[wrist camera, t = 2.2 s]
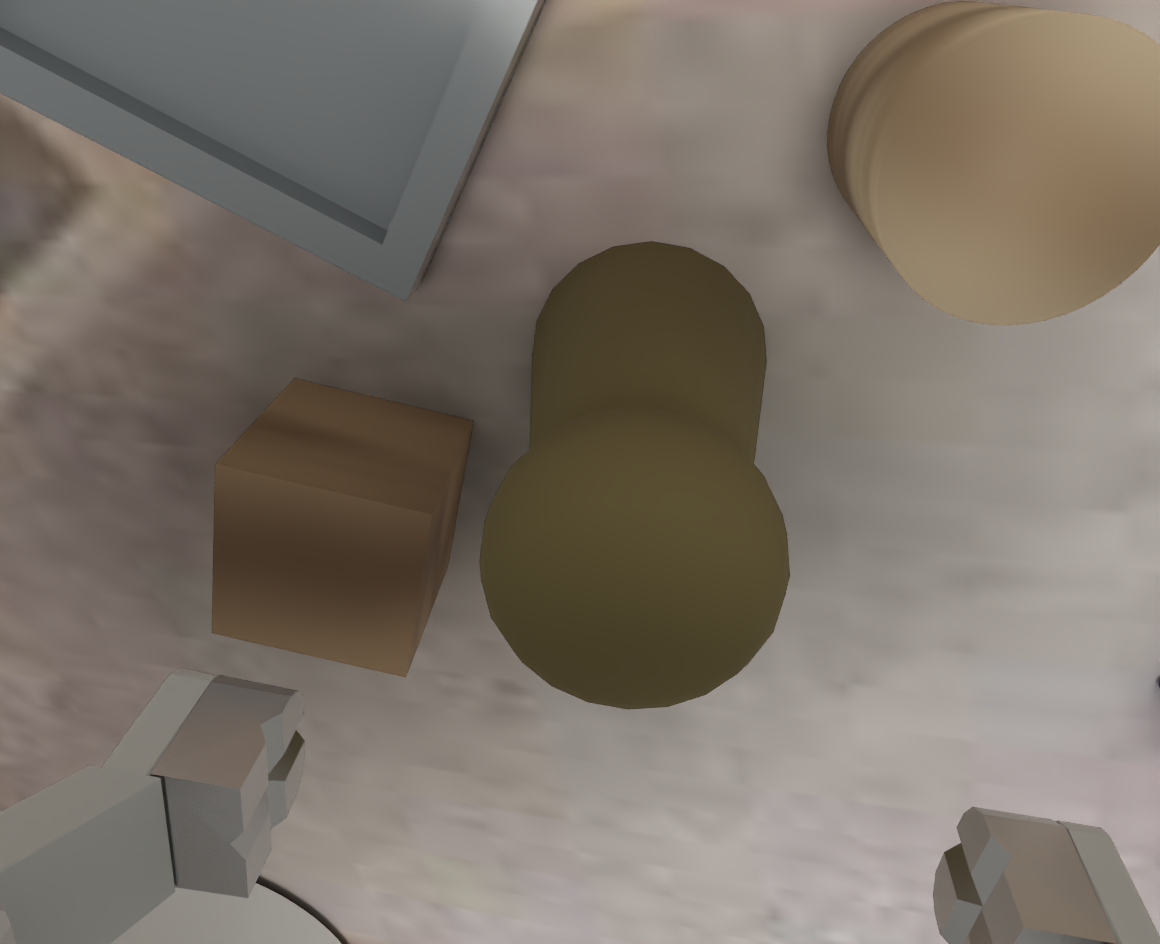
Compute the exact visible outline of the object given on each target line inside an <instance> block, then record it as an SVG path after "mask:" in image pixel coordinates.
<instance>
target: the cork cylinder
mask: <svg viewBox="0 0 1160 944" xmlns="http://www.w3.org/2000/svg"><path fill="white" fill-rule="evenodd" d="M827 148H828V157H829V163H830V167H831V171H832V175H833V177H834V179H835V182H836V184H837V187H838V189H839V190H840V192H841V194H842V195H843V197H844V199H845V200H846V202H847V203H848V204H849V206H850V207H851V208H852V210H853V211H854V212H855V214H856V215H857V217H858V218H859V219H860V221H861V222H862V223H863V225H864V226H865V228H866V229H867V230H868V232H869V233H870V234H871V236H872V237H873V238H874V240H875V241H876V243H877V244H878V245H879V247H880V248H881V249H882V251H883V252H884V254H885V255H886V256H887V258H888V259H889V260H890V262H891V263H892V264H893V266H894V267H895V269H896V270H897V271H898V273H899V274H900V275H901V277H902V278H903V279H904V280H905V281H906V283H907V284H908V285H909V286H910V287H911V288H912V289H913V290H914V291H915V292H916V293H917V294H918V295H919V296H920V297H922V298H923V299H924V300H926V301H927V302H929V303H930V304H932V305H933V306H935V307H936V308H938V309H940V310H942V311H944V312H946V313H948V314H950V315H952V316H955V317H958V318H961V319H965V320H968V321H972V322H977V323H983V324H991V325H1018V324H1028V323H1034V322H1039V321H1044V320H1048V319H1051V318H1055V317H1058V316H1061V315H1065V314H1067V313H1069V312H1072V311H1074V310H1077V309H1079V308H1081V307H1084V306H1086V305H1087V304H1089V303H1091V302H1093V301H1095V300H1096V299H1098V298H1100V297H1102V296H1104V295H1105V294H1106V293H1108V292H1109V291H1111V290H1112V289H1114V288H1115V287H1117V286H1118V285H1119V284H1121V283H1122V282H1123V281H1124V280H1126V279H1127V278H1128V277H1129V276H1130V275H1131V274H1133V273H1134V272H1135V271H1136V270H1137V269H1138V268H1139V267H1140V266H1141V265H1142V264H1143V263H1144V262H1145V261H1146V260H1147V259H1148V258H1149V257H1150V256H1151V255H1152V254H1153V252H1154V251H1155V250H1156V248H1157V247H1158V246H1159V244H1160V45H1159V44H1158V43H1156V42H1155V41H1154V40H1152V39H1151V38H1150V37H1149V36H1147V35H1146V34H1144V33H1142V32H1141V31H1139V30H1137V29H1135V28H1133V27H1131V26H1129V25H1128V24H1125V23H1122V22H1119V21H1116V20H1113V19H1110V18H1106V17H1100V16H1094V15H1089V14H1081V13H1072V12H1063V11H1054V10H1045V9H1036V8H1027V7H1018V6H1009V5H1000V4H991V3H982V2H966V1H958V2H949V3H942V4H938V5H934V6H930V7H926V8H924V9H921V10H919V11H916V12H914V13H911V14H909V15H907V16H906V17H904V18H902V19H900V20H898V21H896V22H895V23H893V24H892V25H891V26H889V27H888V28H886V29H885V30H884V31H882V32H881V33H880V34H879V35H878V36H877V37H876V38H874V39H873V40H872V41H871V42H870V43H869V44H868V45H867V46H866V47H865V48H864V50H863V51H862V52H861V53H860V54H859V55H858V56H857V58H856V59H855V61H854V62H853V64H852V65H851V66H850V68H849V69H848V71H847V73H846V75H845V76H844V78H843V80H842V82H841V84H840V86H839V88H838V91H837V93H836V96H835V98H834V101H833V105H832V109H831V112H830V117H829V124H828V131H827Z"/></svg>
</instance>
